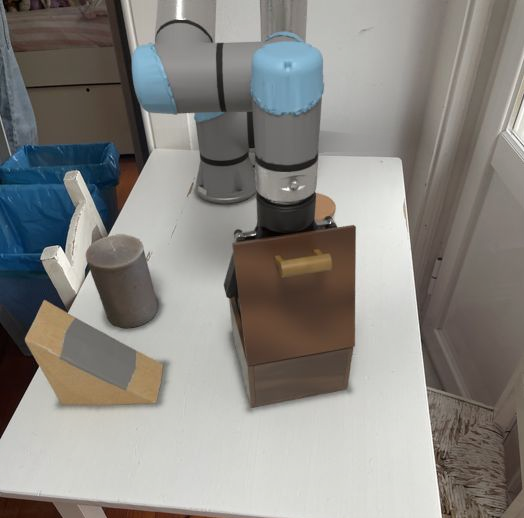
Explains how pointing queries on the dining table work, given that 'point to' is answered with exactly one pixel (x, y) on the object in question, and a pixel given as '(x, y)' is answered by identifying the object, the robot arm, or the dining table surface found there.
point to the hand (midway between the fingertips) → (285, 319)
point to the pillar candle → (122, 280)
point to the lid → (297, 293)
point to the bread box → (290, 371)
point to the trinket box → (324, 207)
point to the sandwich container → (90, 362)
